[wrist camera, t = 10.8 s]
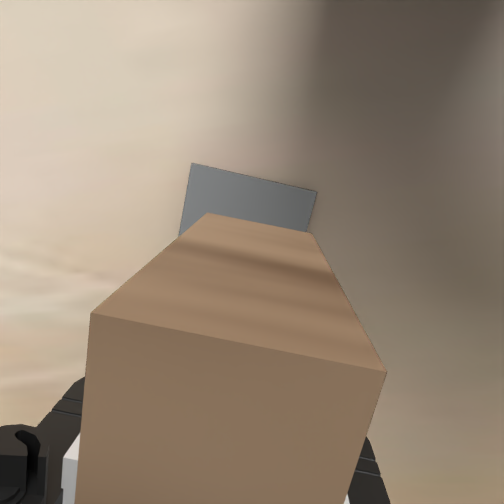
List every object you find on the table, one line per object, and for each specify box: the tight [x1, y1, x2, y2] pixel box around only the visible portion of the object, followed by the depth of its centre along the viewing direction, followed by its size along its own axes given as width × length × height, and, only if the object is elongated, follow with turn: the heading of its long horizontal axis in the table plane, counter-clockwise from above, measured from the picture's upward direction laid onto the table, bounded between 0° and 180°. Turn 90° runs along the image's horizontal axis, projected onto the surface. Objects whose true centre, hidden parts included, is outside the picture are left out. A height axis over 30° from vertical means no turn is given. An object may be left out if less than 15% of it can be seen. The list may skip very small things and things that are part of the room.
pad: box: [179, 163, 317, 236], centre depth 25 cm, size 14×8×1 cm, turn 167°
